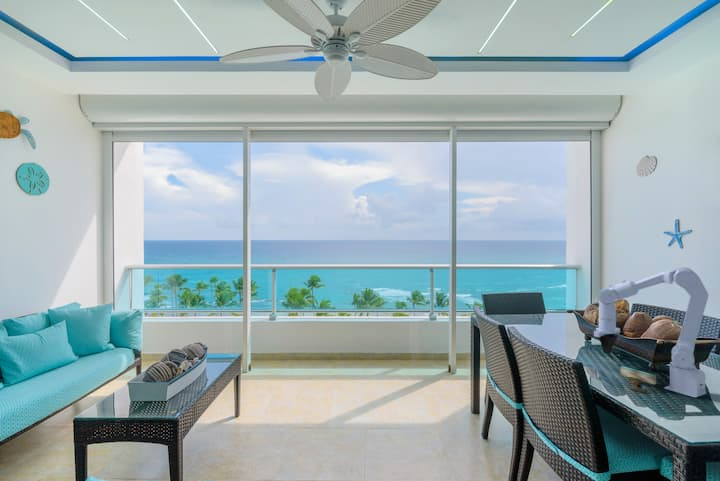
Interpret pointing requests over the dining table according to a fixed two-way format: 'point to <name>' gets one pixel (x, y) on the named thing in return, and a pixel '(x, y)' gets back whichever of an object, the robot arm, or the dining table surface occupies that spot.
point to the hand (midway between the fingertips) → (607, 353)
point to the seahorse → (635, 383)
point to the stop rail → (638, 375)
